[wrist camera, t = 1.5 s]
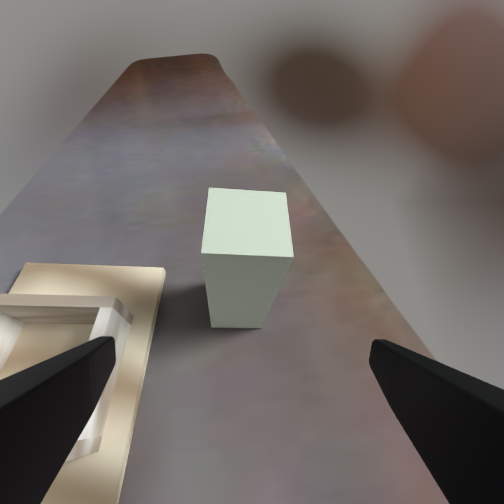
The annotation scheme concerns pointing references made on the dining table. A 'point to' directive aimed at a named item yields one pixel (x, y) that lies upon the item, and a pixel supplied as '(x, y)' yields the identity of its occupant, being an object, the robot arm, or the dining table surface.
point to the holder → (74, 334)
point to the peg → (244, 255)
